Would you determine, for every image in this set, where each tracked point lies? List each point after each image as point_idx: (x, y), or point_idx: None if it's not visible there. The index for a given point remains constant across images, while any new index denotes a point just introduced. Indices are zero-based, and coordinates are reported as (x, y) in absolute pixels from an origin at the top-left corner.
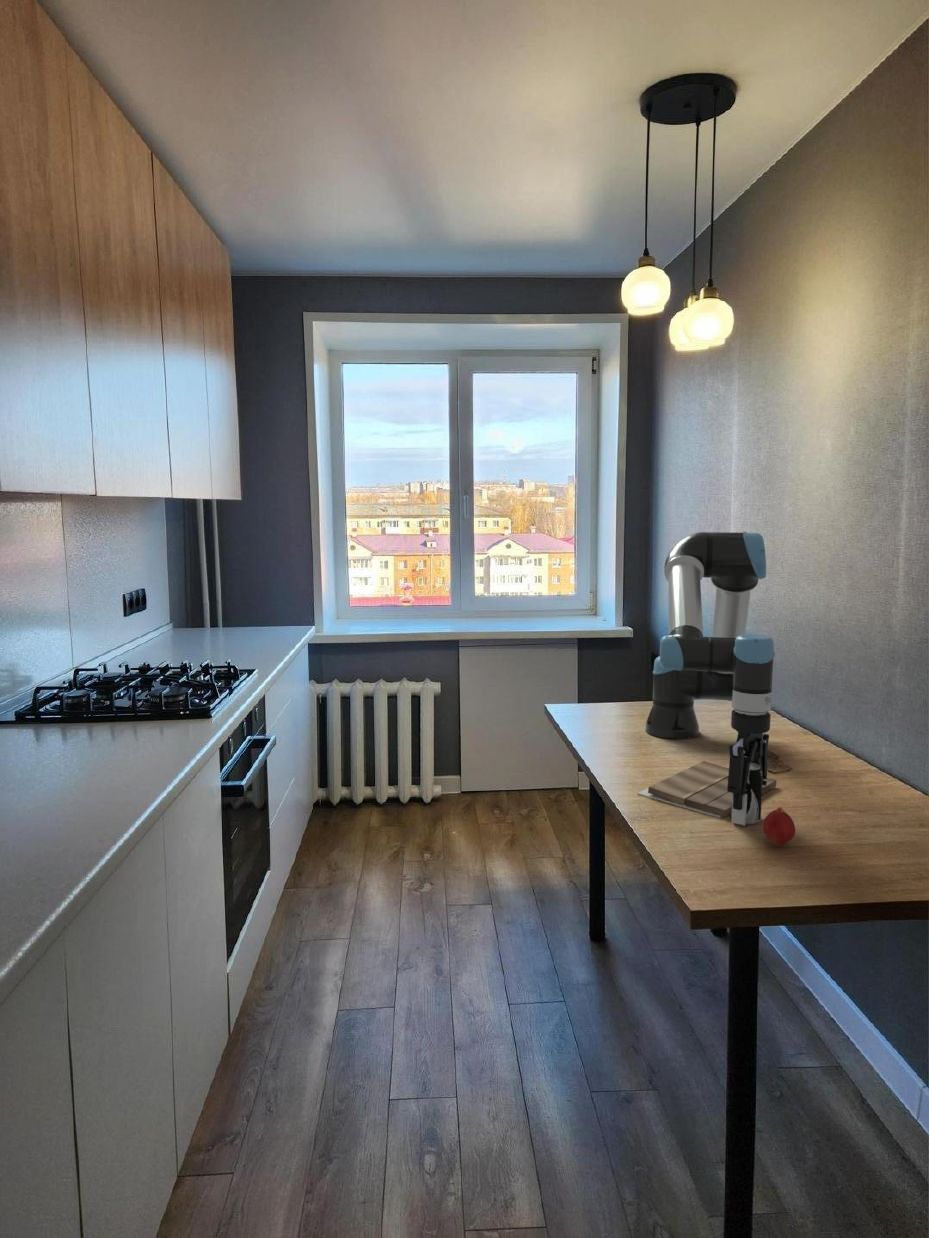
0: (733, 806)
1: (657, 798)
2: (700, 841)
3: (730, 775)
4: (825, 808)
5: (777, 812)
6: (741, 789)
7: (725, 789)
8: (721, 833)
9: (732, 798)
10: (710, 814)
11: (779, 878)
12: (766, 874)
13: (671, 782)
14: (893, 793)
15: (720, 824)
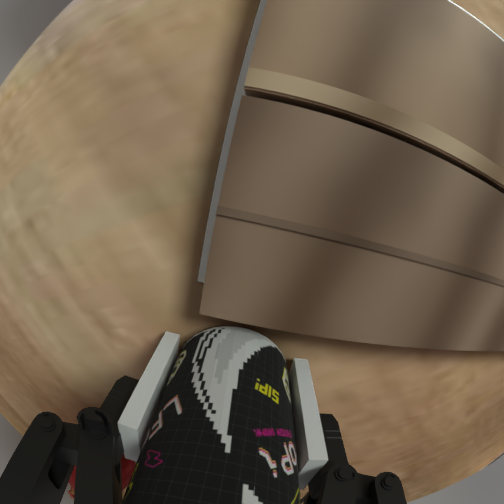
0: (116, 382)
1: None
2: (8, 266)
3: (7, 478)
4: (414, 452)
5: (71, 485)
6: (73, 466)
7: (468, 247)
8: (75, 309)
9: (192, 379)
10: (205, 236)
11: (18, 406)
12: (12, 391)
13: (415, 8)
14: (481, 460)
15: (136, 294)
